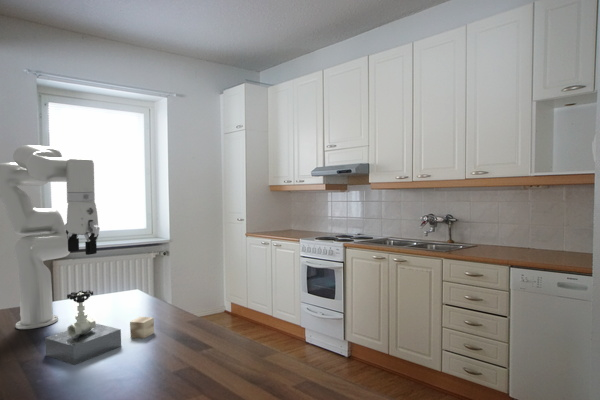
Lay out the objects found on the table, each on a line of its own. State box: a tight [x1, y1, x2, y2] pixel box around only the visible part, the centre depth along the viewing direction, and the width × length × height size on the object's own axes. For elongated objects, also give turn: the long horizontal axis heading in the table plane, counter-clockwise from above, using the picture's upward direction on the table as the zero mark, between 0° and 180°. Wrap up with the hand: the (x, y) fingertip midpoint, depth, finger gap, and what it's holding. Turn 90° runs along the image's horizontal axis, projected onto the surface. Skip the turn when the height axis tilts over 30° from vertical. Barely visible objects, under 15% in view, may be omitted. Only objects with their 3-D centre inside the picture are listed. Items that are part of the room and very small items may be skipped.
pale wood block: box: [129, 316, 155, 339], centre depth 125 cm, size 5×5×5 cm
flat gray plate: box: [44, 323, 122, 366], centre depth 113 cm, size 14×14×5 cm
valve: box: [66, 289, 97, 338], centre depth 112 cm, size 7×7×12 cm
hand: (82, 252), depth 122 cm, fingers open, 9 cm apart
